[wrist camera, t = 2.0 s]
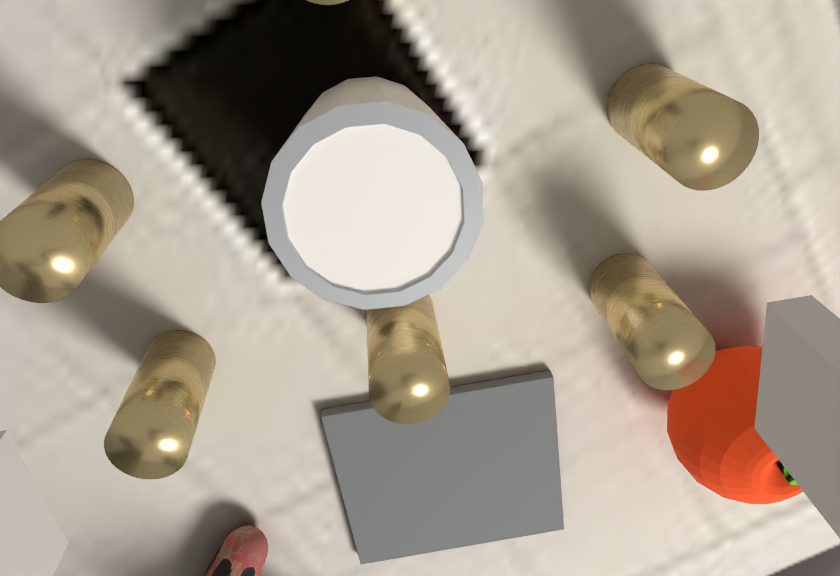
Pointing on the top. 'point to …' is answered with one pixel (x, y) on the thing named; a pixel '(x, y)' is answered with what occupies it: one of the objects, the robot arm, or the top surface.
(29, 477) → the robot arm
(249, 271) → the top surface
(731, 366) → the clementine
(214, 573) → the screwdriver
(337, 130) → the white cup
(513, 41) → the top surface
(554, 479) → the slate mat
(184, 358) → the spacer field
